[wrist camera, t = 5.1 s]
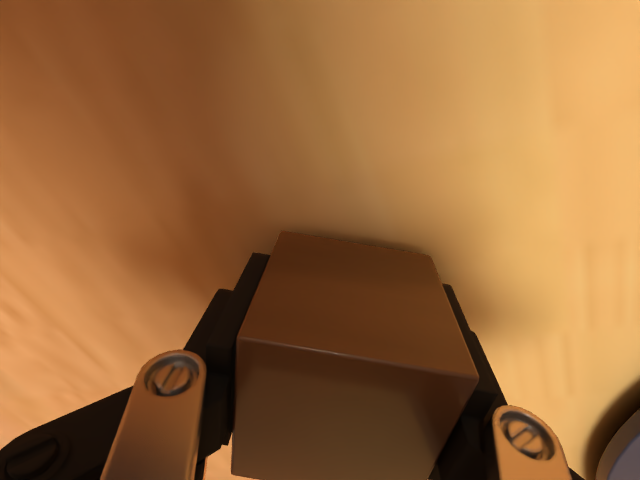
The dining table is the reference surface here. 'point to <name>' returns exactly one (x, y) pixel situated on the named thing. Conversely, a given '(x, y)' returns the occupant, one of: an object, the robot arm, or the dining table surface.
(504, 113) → the dining table surface
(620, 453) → the lid
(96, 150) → the dining table surface
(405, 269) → the block
